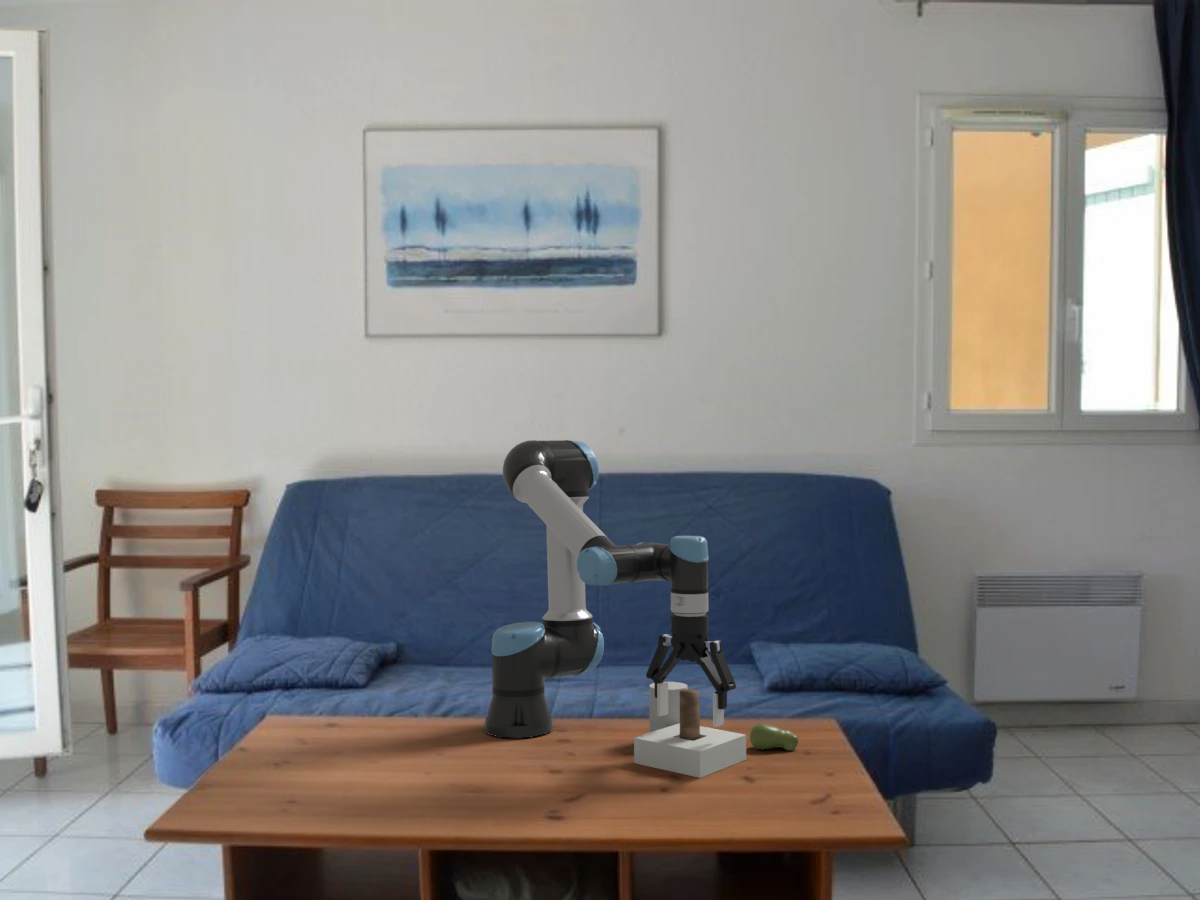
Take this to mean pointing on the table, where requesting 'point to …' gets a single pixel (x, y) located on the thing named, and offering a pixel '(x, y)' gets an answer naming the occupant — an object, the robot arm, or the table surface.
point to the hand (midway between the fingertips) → (690, 720)
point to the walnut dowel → (690, 714)
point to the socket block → (690, 750)
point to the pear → (772, 737)
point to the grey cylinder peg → (673, 706)
